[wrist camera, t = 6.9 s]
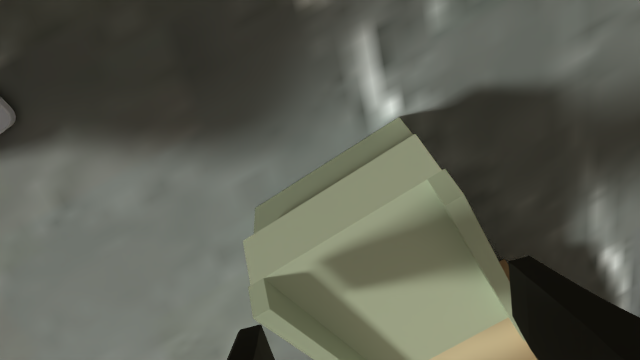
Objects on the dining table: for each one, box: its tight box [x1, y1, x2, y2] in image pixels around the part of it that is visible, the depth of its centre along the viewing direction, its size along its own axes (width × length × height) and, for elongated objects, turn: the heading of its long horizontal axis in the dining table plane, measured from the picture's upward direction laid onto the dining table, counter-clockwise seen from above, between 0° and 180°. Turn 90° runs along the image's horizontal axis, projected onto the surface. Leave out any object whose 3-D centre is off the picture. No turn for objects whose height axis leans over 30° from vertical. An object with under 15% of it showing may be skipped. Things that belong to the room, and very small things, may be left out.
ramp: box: [243, 117, 525, 360], centre depth 18 cm, size 11×7×6 cm, turn 33°
